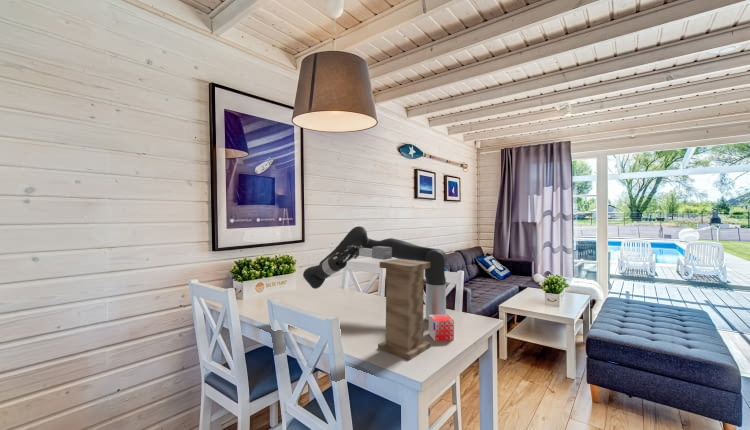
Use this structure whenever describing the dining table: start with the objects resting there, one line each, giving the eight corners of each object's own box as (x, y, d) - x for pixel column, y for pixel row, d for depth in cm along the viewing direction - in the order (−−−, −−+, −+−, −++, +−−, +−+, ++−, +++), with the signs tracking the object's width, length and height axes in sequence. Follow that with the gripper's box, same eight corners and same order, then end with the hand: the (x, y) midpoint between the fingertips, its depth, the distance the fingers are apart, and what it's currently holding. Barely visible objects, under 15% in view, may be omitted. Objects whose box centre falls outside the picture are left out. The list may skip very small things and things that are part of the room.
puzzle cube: (453, 340, 127) (454, 320, 127) (434, 341, 126) (435, 321, 126) (446, 332, 135) (446, 314, 135) (428, 333, 134) (428, 314, 134)
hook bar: (353, 253, 140) (353, 243, 140) (391, 258, 126) (392, 247, 126) (345, 254, 136) (345, 243, 136) (383, 259, 122) (384, 248, 122)
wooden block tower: (399, 337, 129) (400, 258, 129) (430, 347, 120) (431, 262, 120) (377, 348, 118) (378, 262, 118) (409, 359, 109) (410, 266, 109)
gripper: (319, 257, 140) (343, 240, 130) (342, 255, 150) (366, 238, 141) (324, 273, 137) (350, 257, 128) (348, 269, 148) (373, 254, 138)
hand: (358, 248), depth 134 cm, fingers closed on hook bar, 3 cm apart
